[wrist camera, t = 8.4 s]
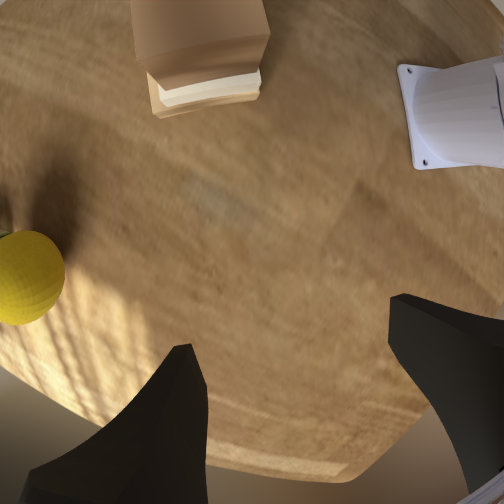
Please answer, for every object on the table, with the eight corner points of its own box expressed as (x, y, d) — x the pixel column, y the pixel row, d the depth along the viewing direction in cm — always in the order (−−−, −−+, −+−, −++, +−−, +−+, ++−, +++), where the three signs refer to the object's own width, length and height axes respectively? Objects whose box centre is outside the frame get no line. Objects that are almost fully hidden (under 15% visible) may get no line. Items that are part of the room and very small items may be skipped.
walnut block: (240, 1, 11) (246, -52, 6) (256, 72, 13) (270, 33, 8) (154, 19, 11) (128, -28, 6) (165, 91, 13) (136, 60, 8)
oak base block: (239, 23, 15) (242, 6, 13) (255, 101, 17) (260, 92, 15) (150, 40, 15) (141, 26, 13) (161, 119, 17) (152, 113, 15)
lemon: (16, 229, 17) (-53, 263, 10) (69, 210, 18) (-2, 242, 10) (38, 295, 19) (-17, 349, 11) (92, 285, 19) (40, 346, 12)
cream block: (242, 17, 13) (245, 2, 11) (256, 91, 15) (261, 82, 13) (157, 32, 13) (150, 18, 11) (167, 107, 15) (159, 100, 13)
